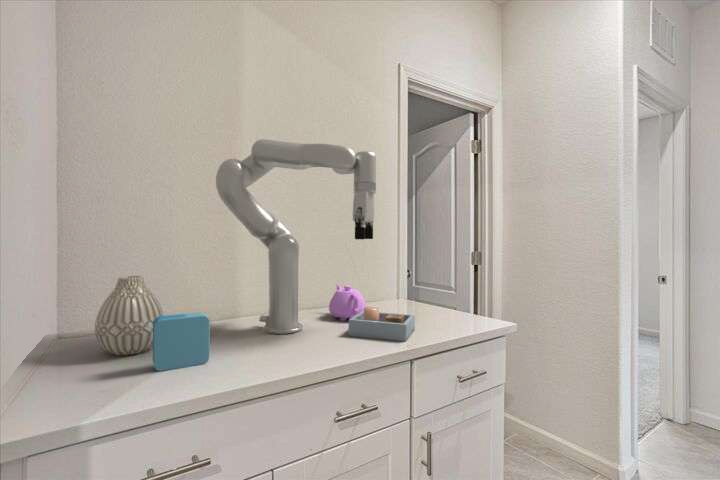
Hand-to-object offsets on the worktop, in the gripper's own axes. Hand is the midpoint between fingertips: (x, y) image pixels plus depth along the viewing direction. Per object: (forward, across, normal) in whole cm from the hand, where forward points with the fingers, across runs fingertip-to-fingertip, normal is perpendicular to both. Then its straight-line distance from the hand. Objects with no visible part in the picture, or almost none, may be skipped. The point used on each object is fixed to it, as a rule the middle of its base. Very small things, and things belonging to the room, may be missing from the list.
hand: (364, 239), depth 129 cm
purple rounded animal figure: (+31, -13, -11) cm, 35 cm away
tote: (+30, +4, +8) cm, 32 cm away
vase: (+31, +46, -51) cm, 75 cm away
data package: (+31, +50, -30) cm, 66 cm away
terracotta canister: (+30, +4, +4) cm, 30 cm away
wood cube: (+30, +4, +12) cm, 32 cm away
